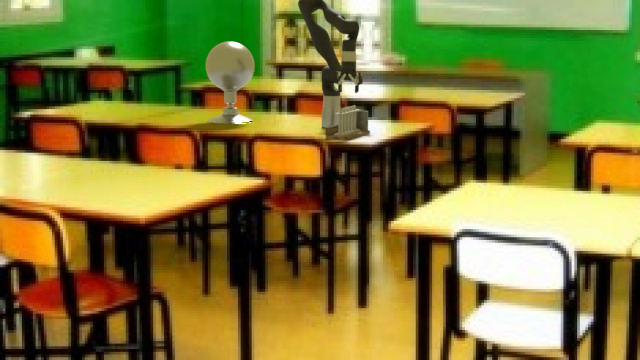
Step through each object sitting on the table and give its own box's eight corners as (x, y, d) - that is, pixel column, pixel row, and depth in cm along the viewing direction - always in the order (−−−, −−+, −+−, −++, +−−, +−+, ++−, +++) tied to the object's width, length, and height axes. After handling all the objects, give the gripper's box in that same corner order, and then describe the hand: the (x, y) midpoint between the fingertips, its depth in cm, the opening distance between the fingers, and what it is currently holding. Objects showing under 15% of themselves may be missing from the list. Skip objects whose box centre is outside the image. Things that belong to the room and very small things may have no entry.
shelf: (325, 138, 501) (325, 115, 499) (348, 132, 529) (348, 110, 527) (348, 140, 496) (348, 116, 494) (369, 133, 524) (370, 111, 523)
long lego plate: (352, 130, 525) (352, 104, 522) (360, 130, 523) (360, 105, 521) (333, 135, 502) (334, 109, 500) (342, 136, 500) (342, 109, 498)
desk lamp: (203, 123, 564) (202, 42, 557) (209, 117, 592) (208, 40, 584) (252, 123, 564) (252, 42, 556) (256, 118, 591) (256, 40, 583)
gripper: (332, 60, 506) (332, 92, 509) (359, 60, 501) (359, 93, 504) (338, 59, 513) (338, 91, 516) (364, 60, 508) (364, 92, 510)
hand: (348, 92), depth 510 cm, fingers open, 8 cm apart
